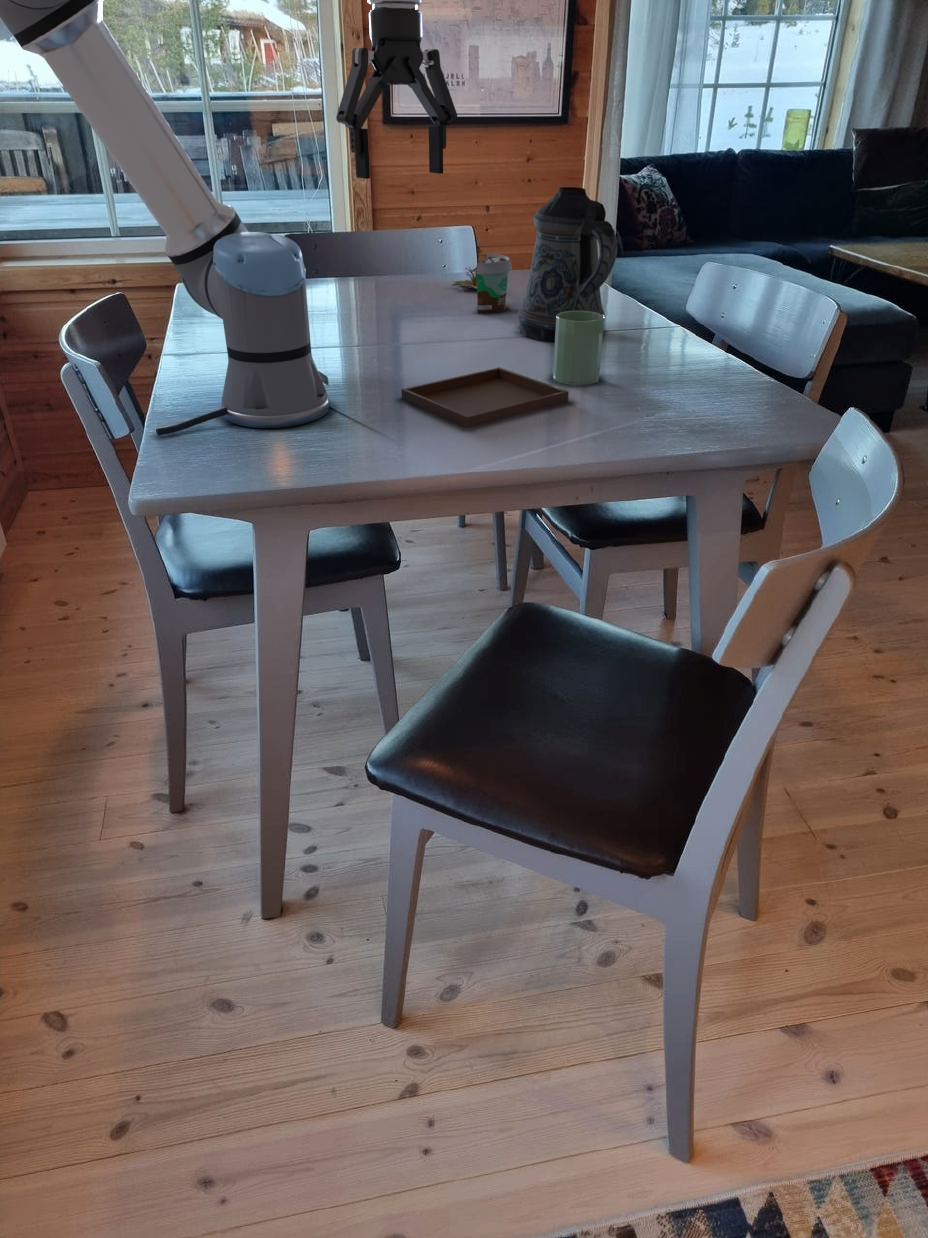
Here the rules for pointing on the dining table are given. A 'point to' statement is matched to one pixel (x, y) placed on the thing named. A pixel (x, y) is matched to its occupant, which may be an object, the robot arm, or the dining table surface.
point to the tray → (484, 396)
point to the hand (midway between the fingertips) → (400, 175)
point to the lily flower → (467, 281)
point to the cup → (578, 347)
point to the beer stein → (567, 262)
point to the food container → (492, 283)
